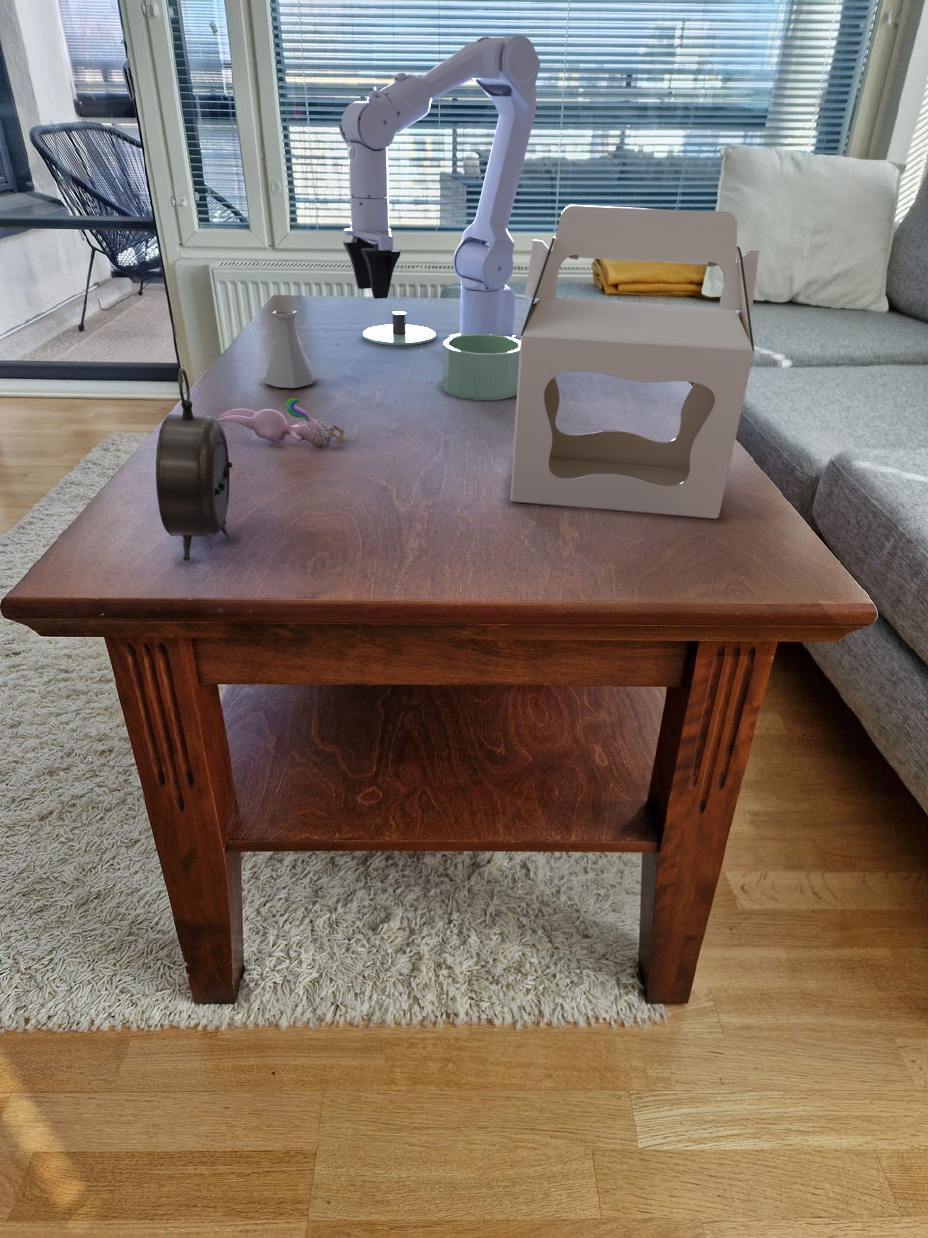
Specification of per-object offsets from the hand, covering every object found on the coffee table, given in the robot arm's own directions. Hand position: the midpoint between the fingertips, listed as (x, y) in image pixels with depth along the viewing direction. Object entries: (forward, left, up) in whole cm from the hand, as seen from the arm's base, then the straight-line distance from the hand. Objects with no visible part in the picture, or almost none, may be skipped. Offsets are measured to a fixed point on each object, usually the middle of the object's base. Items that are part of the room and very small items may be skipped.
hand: (372, 292), depth 130 cm
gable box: (+14, +59, -10) cm, 61 cm away
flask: (+19, +4, -10) cm, 22 cm away
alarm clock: (+54, +41, -10) cm, 68 cm away
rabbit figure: (+34, +24, -10) cm, 43 cm away
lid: (-10, -5, -9) cm, 15 cm away
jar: (-1, +24, -10) cm, 26 cm away
